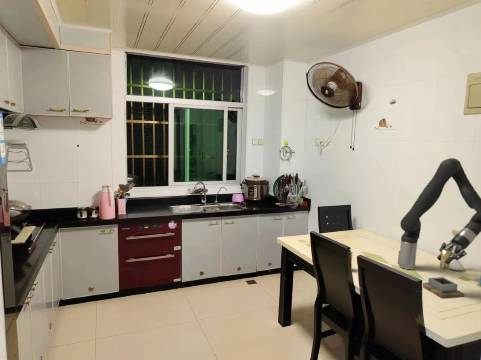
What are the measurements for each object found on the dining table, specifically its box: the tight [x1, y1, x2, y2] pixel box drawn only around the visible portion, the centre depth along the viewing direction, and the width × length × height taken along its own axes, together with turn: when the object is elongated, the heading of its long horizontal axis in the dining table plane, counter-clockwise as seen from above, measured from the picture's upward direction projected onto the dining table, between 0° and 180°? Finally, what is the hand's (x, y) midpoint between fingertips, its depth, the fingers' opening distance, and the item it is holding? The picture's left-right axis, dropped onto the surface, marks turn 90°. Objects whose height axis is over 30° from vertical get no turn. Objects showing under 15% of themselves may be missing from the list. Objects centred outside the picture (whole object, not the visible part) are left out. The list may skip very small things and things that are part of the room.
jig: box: [422, 276, 465, 299], centre depth 174 cm, size 14×14×6 cm
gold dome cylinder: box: [439, 249, 451, 271], centre depth 172 cm, size 4×4×10 cm
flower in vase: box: [448, 228, 465, 271], centre depth 206 cm, size 13×11×25 cm
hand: (442, 261), depth 172 cm, fingers closed on gold dome cylinder, 4 cm apart
